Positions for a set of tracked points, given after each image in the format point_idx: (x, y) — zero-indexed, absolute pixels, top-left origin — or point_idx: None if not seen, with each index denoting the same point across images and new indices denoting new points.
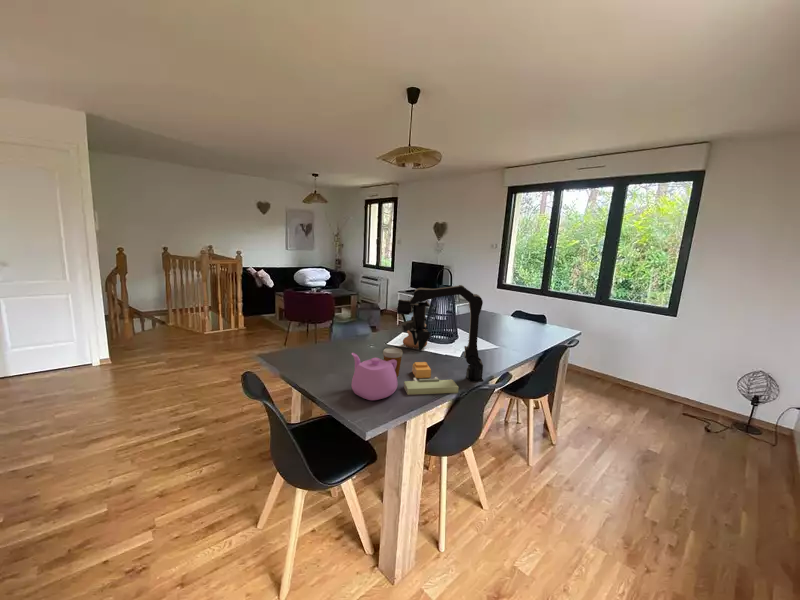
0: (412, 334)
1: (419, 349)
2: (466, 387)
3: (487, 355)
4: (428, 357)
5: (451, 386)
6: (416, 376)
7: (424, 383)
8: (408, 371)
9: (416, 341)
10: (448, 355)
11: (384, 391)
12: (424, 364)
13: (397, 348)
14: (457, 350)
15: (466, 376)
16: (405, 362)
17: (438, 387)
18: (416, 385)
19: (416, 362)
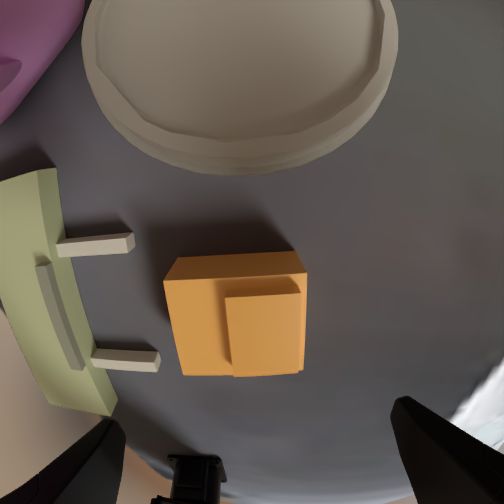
0: (497, 499)
1: (93, 430)
2: None
3: (396, 490)
4: (467, 356)
5: (43, 385)
6: (175, 264)
7: (31, 286)
8: (305, 224)
9: (406, 453)
10: (449, 419)
11: None
12: (244, 359)
13: (363, 95)
14: None
15: (198, 460)
16: (451, 232)
17: (17, 335)
18: (4, 239)
19: (296, 309)
